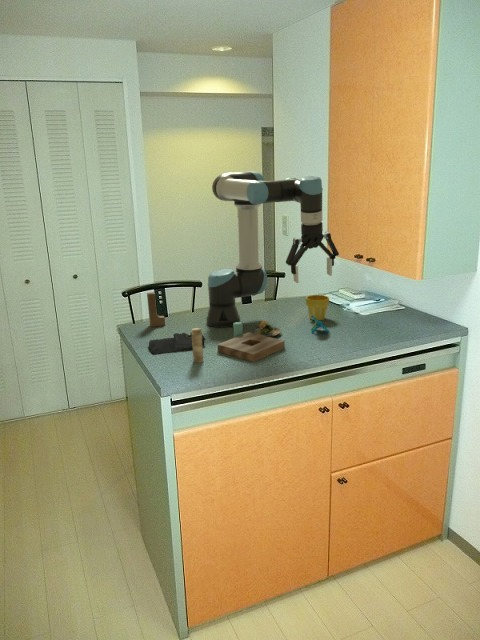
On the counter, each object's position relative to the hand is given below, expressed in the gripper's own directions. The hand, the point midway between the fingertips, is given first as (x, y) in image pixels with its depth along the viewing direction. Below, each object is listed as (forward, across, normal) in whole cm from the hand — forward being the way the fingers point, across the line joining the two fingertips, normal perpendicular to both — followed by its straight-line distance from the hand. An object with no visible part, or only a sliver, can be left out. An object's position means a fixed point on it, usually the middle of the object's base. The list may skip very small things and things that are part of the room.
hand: (312, 278), depth 191 cm
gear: (+29, +6, +8) cm, 31 cm away
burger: (+28, -14, +15) cm, 35 cm away
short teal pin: (+26, -27, +13) cm, 40 cm away
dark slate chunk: (+25, -52, +17) cm, 60 cm away
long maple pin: (+22, -47, -3) cm, 52 cm away
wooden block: (+29, -54, +48) cm, 78 cm away
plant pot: (+32, +14, +26) cm, 44 cm away
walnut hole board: (+24, -26, 0) cm, 36 cm away
